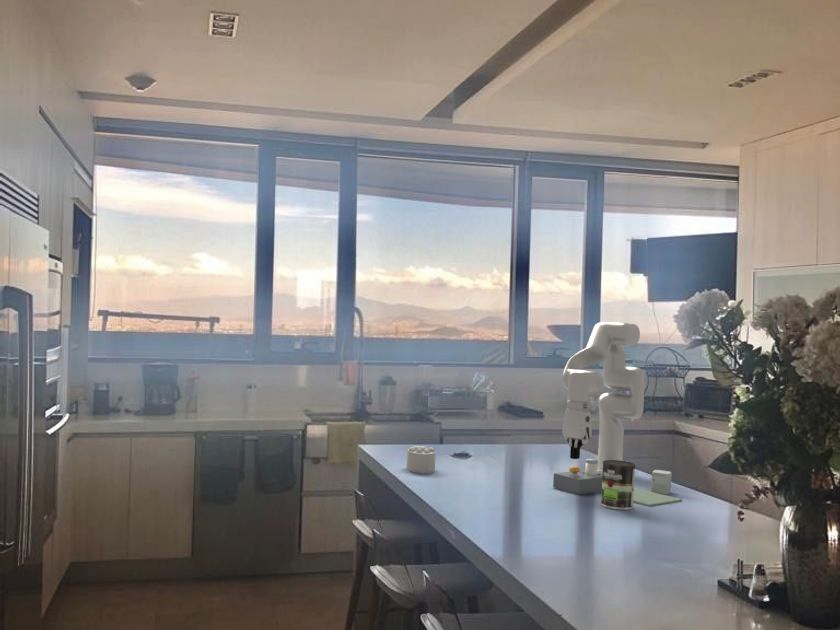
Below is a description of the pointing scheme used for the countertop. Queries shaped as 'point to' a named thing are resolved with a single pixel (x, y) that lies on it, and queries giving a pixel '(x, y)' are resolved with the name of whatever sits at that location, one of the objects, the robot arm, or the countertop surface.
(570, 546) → the countertop surface
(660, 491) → the product box
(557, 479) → the block
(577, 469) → the orange egg
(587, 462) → the cartridge
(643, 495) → the mat
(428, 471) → the lumpy-topped squat cylinder
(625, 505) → the coffee can
